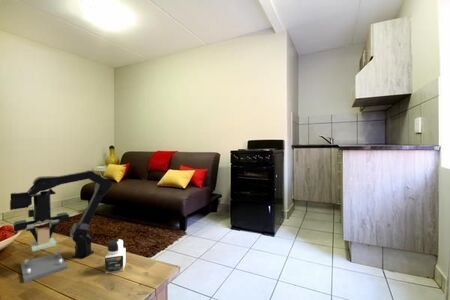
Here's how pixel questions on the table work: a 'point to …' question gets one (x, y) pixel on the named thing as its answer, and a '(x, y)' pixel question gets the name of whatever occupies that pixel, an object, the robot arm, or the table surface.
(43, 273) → the standoff plate
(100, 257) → the table surface
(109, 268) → the medicine bottle
